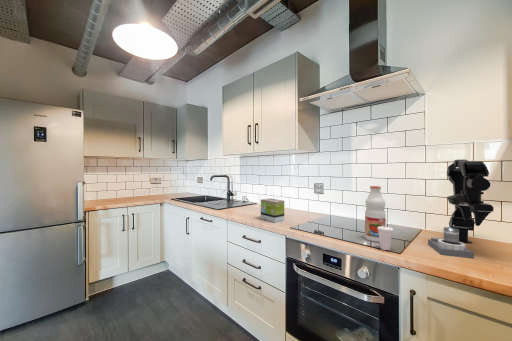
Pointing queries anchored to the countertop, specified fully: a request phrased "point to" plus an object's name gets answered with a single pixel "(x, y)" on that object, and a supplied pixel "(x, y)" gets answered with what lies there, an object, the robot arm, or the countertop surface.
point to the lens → (451, 235)
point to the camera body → (450, 248)
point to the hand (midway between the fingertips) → (471, 223)
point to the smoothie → (385, 237)
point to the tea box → (272, 210)
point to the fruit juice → (374, 214)
